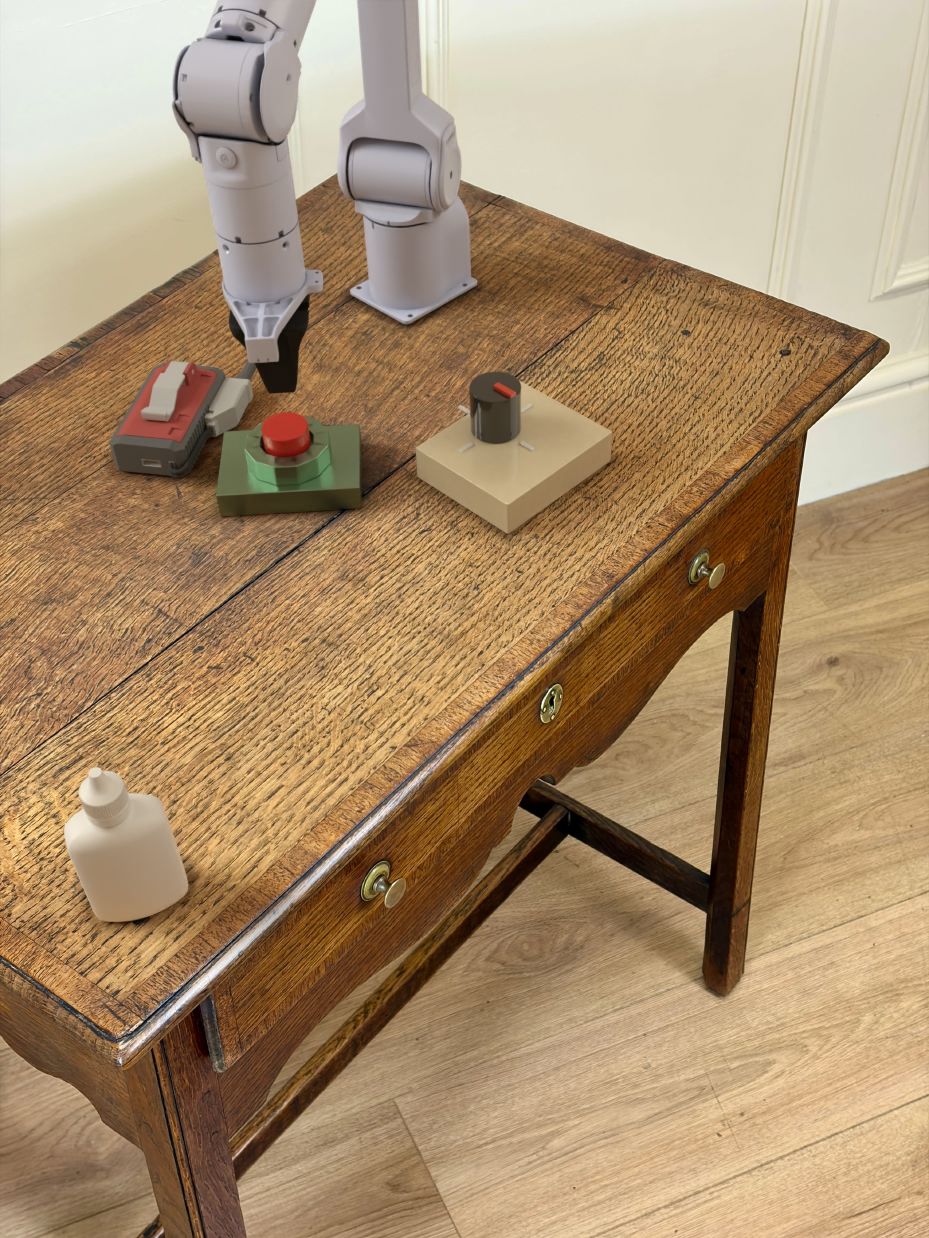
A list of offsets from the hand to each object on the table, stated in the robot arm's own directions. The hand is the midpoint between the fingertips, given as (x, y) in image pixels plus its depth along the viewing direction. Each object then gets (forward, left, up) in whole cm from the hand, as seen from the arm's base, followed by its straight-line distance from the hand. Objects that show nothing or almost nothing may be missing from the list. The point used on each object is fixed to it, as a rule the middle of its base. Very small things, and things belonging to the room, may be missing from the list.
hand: (282, 387), depth 98 cm
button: (0, 0, -5) cm, 5 cm away
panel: (-13, +12, -9) cm, 20 cm away
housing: (0, 0, -9) cm, 9 cm away
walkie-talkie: (0, -13, -9) cm, 16 cm away
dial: (-13, +10, -6) cm, 17 cm away
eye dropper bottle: (+31, +23, -9) cm, 40 cm away
